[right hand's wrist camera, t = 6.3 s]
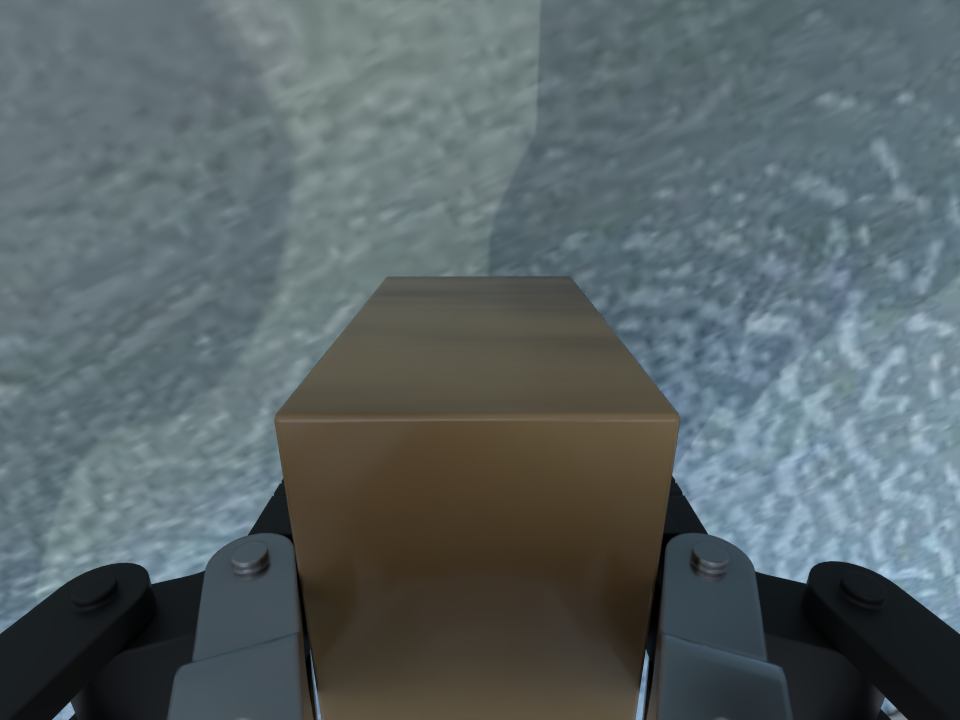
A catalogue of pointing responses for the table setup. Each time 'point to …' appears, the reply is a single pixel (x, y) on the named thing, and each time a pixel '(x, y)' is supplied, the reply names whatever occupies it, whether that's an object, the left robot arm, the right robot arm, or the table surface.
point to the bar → (477, 505)
